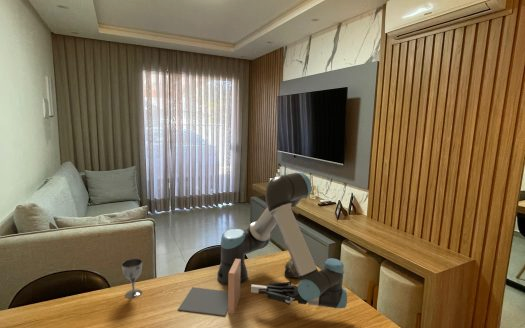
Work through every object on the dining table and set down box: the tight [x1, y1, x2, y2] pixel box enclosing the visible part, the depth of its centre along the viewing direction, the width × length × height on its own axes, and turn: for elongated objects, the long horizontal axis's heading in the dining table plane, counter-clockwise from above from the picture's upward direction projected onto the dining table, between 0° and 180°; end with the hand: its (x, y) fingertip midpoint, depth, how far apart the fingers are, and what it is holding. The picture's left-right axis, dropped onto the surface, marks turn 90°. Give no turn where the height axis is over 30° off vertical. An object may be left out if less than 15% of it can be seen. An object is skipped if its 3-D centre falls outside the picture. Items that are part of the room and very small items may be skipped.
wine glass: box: [121, 258, 143, 300], centre depth 130 cm, size 8×8×15 cm
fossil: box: [283, 257, 300, 279], centre depth 151 cm, size 11×9×10 cm
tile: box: [227, 259, 241, 315], centre depth 125 cm, size 12×3×18 cm, turn 172°
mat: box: [177, 286, 228, 317], centre depth 128 cm, size 16×20×1 cm
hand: (251, 288), depth 124 cm, fingers closed
